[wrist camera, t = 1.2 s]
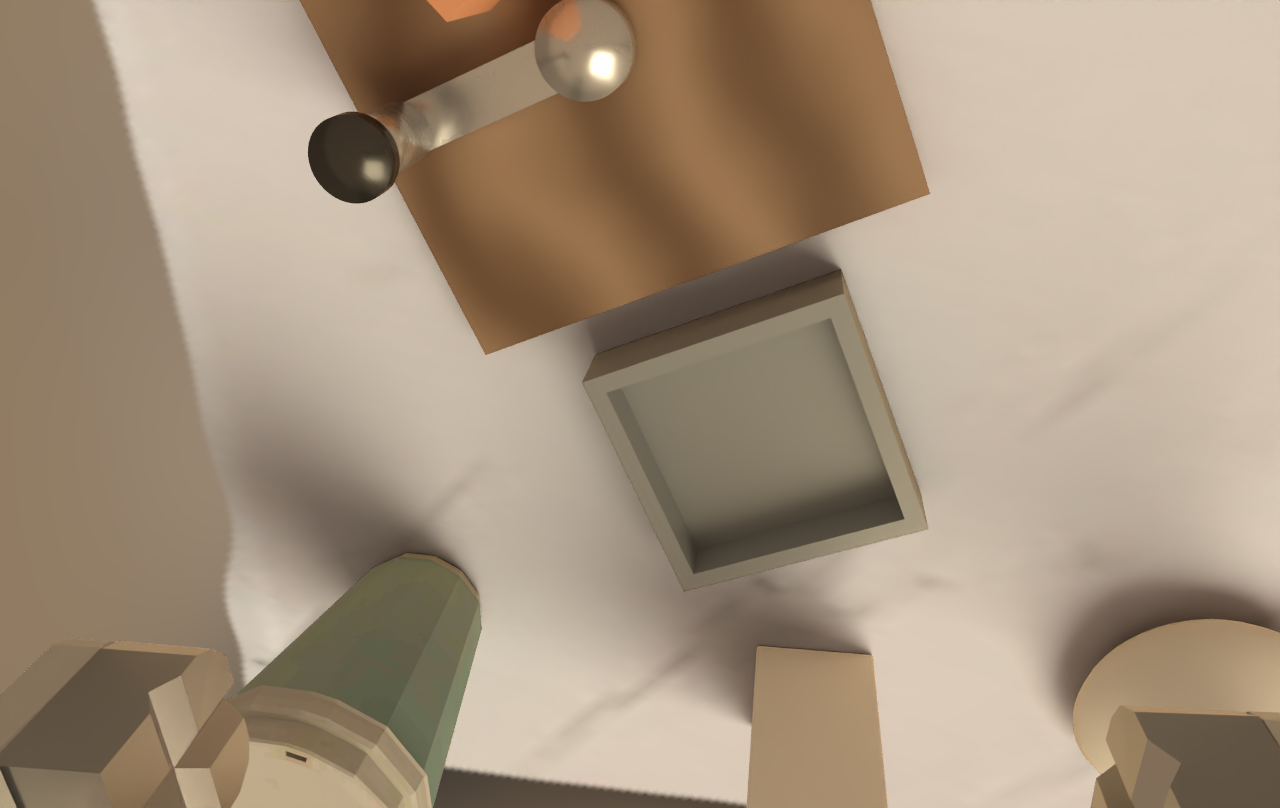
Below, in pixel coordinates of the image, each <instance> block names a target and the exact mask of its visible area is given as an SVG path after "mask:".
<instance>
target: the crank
mask: <svg viewBox="0 0 1280 808" xmlns="http://www.w3.org/2000/svg"><path fill="white" fill-rule="evenodd" d="M636 57H637V37H636V33H635V30H634V27H633V24H632V22H631V20H630V19H629V17H628V16H627V14H626V13H625V12H624V11H623V9H622V8H621V7H619V6H618V5H617V4H616V3H614V2H613V1H611V0H563V1H561V2H559V3H558V4H556V5H555V6H553V7H552V8H551V9H550V10H549V11H548V12H547V13H546V14H545V16H544V17H543V18H542V20H541V22H540V24H539V27H538V29H537V32H536V37H535V41H533V42H531V43H528V44H526V45H524V46H522V47H520V48H518V49H516V50H514V51H511V52H509V53H507V54H505V55H503V56H501V57H499V58H497V59H494V60H492V61H490V62H488V63H486V64H484V65H482V66H480V67H478V68H475V69H473V70H471V71H469V72H467V73H465V74H463V75H461V76H458V77H456V78H454V79H452V80H450V81H448V82H446V83H444V84H442V85H439V86H437V87H435V88H433V89H431V90H429V91H427V92H425V93H422V94H420V95H418V96H416V97H414V98H412V99H410V100H408V101H406V102H403V103H402V102H392V103H389V104H386V105H384V106H381V107H379V108H377V109H374V110H372V111H369V112H367V113H365V114H364V113H360V112H345V113H341V114H339V115H336V116H334V117H331V118H329V119H326V120H325V121H323V122H322V123H320V124H319V125H318V126H317V127H316V129H315V130H314V132H313V133H312V135H311V138H310V141H309V146H308V158H309V163H310V167H311V170H312V172H313V174H314V176H315V178H316V179H317V181H318V182H319V184H320V185H321V186H322V187H323V188H324V189H325V190H326V191H327V192H328V193H329V194H331V195H332V196H334V197H335V198H337V199H339V200H342V201H345V202H349V203H365V202H368V201H371V200H373V199H375V198H376V197H378V196H380V195H381V194H383V193H384V192H386V191H387V190H388V189H389V188H390V187H391V186H392V185H393V183H394V182H395V180H396V178H397V176H398V174H399V173H400V172H402V171H404V170H405V169H407V168H409V167H410V166H412V165H414V164H415V163H417V162H418V161H420V160H421V159H422V158H423V157H424V156H425V155H426V154H427V152H428V151H430V150H433V149H435V148H437V147H439V146H441V145H444V144H446V143H448V142H450V141H453V140H455V139H457V138H459V137H461V136H464V135H466V134H468V133H470V132H473V131H475V130H477V129H479V128H482V127H484V126H486V125H488V124H490V123H493V122H495V121H497V120H499V119H502V118H504V117H506V116H508V115H511V114H513V113H515V112H517V111H519V110H522V109H524V108H526V107H528V106H531V105H533V104H535V103H537V102H539V101H542V100H544V99H546V98H548V97H551V96H553V95H555V94H557V93H559V94H560V95H562V96H564V97H566V98H568V99H571V100H575V101H581V102H590V101H595V100H599V99H602V98H604V97H606V96H608V95H609V94H611V93H612V92H614V91H615V90H616V89H617V88H618V87H619V86H620V85H622V84H623V83H624V82H625V80H626V79H627V78H628V77H629V75H630V73H631V72H632V69H633V67H634V65H635V61H636Z"/></svg>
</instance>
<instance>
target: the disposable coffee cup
mask: <svg viewBox="0 0 1280 808" xmlns="http://www.w3.org/2000/svg"><path fill="white" fill-rule="evenodd" d="M481 629H482V626H481V615H480V605H479V596H478V592H477V591H476V590H475V588H474V587H473V586H472V584H471V583H470V582H469V580H468V579H467V578H466V576H465V575H464V574H463V572H462V571H461V570H459V569H458V568H456V567H454V566H452V565H450V564H449V563H447V562H445V561H443V560H442V559H440V558H438V557H436V556H433V555H422V554H412V553H405V554H403V555H400V556H398V557H396V558H393V559H391V560H389V561H387V562H384V563H382V564H380V565H378V566H375V567H373V568H372V569H371V570H370V571H369V572H368V573H366V574H365V575H364V576H363V577H362V578H361V579H360V580H359V581H358V582H357V583H356V584H355V585H354V586H353V587H351V588H350V589H349V590H348V591H347V592H346V593H345V594H344V595H343V596H342V597H341V598H340V599H339V600H337V601H336V602H335V603H334V604H333V605H332V606H331V607H330V608H329V609H328V610H327V611H326V612H325V613H324V614H322V615H321V616H320V617H319V618H318V619H317V620H316V621H315V622H314V623H313V624H312V625H311V626H310V627H308V628H307V629H306V630H305V631H304V632H303V633H302V634H301V635H300V636H299V637H298V638H297V639H296V640H295V641H293V642H292V643H291V644H290V645H289V646H288V647H287V648H286V649H285V650H284V651H283V652H282V653H281V654H279V655H278V656H277V657H276V658H275V659H274V660H273V661H272V662H271V663H270V664H269V665H268V666H267V667H266V668H264V669H263V670H262V671H261V672H260V673H259V674H258V675H257V676H256V677H255V678H254V679H253V680H252V681H250V682H249V683H248V684H247V685H246V686H245V687H244V688H243V689H242V690H241V691H240V692H239V693H238V694H237V695H235V696H234V697H231V698H229V699H226V701H227V702H228V703H229V704H230V705H231V706H232V707H233V708H235V709H236V710H237V711H238V712H239V713H240V714H241V715H242V716H243V717H244V720H245V723H246V727H247V731H248V735H249V763H248V767H247V770H246V774H245V777H244V781H243V784H242V787H241V791H240V793H239V795H238V797H237V798H236V800H235V802H234V803H233V805H232V807H231V808H433V804H434V801H435V798H436V794H437V790H438V787H439V783H440V779H441V776H442V772H443V768H444V765H445V761H446V757H447V754H448V750H449V747H450V743H451V739H452V736H453V732H454V728H455V725H456V721H457V717H458V714H459V710H460V706H461V703H462V699H463V695H464V692H465V688H466V684H467V681H468V677H469V673H470V670H471V666H472V662H473V659H474V655H475V651H476V648H477V644H478V640H479V637H480V633H481Z"/></svg>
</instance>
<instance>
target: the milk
mask: <svg viewBox="0 0 1280 808" xmlns="http://www.w3.org/2000/svg"><path fill="white" fill-rule="evenodd" d="M747 808H888V803H887V793H886V783H885V773H884V763H883V753H882V743H881V733H880V723H879V712H878V702H877V692H876V682H875V672H874V662H873V656H872V655H866V654H854V653H841V652H829V651H816V650H804V649H792V648H779V647H767V646H758V647H757V650H756V665H755V681H754V698H753V714H752V730H751V746H750V762H749V779H748V795H747Z"/></svg>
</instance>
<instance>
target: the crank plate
mask: <svg viewBox="0 0 1280 808" xmlns="http://www.w3.org/2000/svg"><path fill="white" fill-rule="evenodd" d="M561 1H563V0H500V1H499V2H498V3H497V4H496V5H495V6H494V7H493V8H492V10H491V11H488V12H484V13H480V14H476V15H472V16H468V17H465V18H461V19H457V20H453V21H449V22H446V21H445V19H444V18H443V17H442V16H441V15H440V14H439V13H438V12H437V11H436V10H435V9H434V8H433V6H432V5H431V4H430V3H429V2H428V1H427V0H300V2H301V4H302V6H303V8H304V10H305V11H306V13H307V15H308V17H309V19H310V21H311V23H312V25H313V27H314V29H315V30H316V32H317V34H318V36H319V38H320V40H321V42H322V44H323V46H324V48H325V50H326V51H327V53H328V55H329V57H330V59H331V61H332V63H333V65H334V67H335V69H336V71H337V72H338V74H339V76H340V78H341V80H342V82H343V84H344V86H345V88H346V90H347V91H348V93H349V95H350V97H351V99H352V101H353V103H354V105H355V107H356V109H357V111H358V112H360V113H364V114H365V113H367V112H369V111H372V110H374V109H377V108H379V107H381V106H384V105H386V104H389V103H392V102H402V103H403V102H406V101H408V100H410V99H412V98H414V97H416V96H418V95H420V94H422V93H425V92H427V91H429V90H431V89H433V88H435V87H437V86H439V85H442V84H444V83H446V82H448V81H450V80H452V79H454V78H456V77H458V76H461V75H463V74H465V73H467V72H469V71H471V70H473V69H475V68H478V67H480V66H482V65H484V64H486V63H488V62H490V61H492V60H494V59H497V58H499V57H501V56H503V55H505V54H507V53H509V52H511V51H514V50H516V49H518V48H520V47H522V46H524V45H526V44H528V43H531V42H533V41H535V37H536V32H537V29H538V27H539V24H540V22H541V20H542V18H543V17H544V16H545V14H546V13H547V12H548V11H549V10H550V9H551V8H552V7H553V6H555V5H556V4H558V3H559V2H561ZM611 1H613V2H614V3H616V4H617V5H618V6H619V7H621V8H622V9H623V11H624V12H625V13H626V14H627V16H628V17H629V19H630V20H631V22H632V24H633V27H634V30H635V33H636V37H637V57H636V61H635V65H634V67H633V69H632V72H631V73H630V75H629V77H628V78H627V79H626V80H625V82H624V83H623V84H622V85H620V86H619V87H618V88H617V89H616V90H615V91H614V92H612V93H611V94H609V95H608V96H606V97H604V98H602V99H599V100H595V101H590V102H581V101H575V100H571V99H568V98H566V97H564V96H562V95H560V94H559V93H557V94H555V95H553V96H551V97H548V98H546V99H544V100H542V101H539V102H537V103H535V104H533V105H531V106H528V107H526V108H524V109H522V110H519V111H517V112H515V113H513V114H511V115H508V116H506V117H504V118H502V119H499V120H497V121H495V122H493V123H490V124H488V125H486V126H484V127H482V128H479V129H477V130H475V131H473V132H470V133H468V134H466V135H464V136H461V137H459V138H457V139H455V140H453V141H450V142H448V143H446V144H444V145H441V146H439V147H437V148H435V149H433V150H430V151H428V152H427V154H426V155H425V156H424V157H423V158H422V159H421V160H420V161H418V162H417V163H415V164H414V165H412V166H410V167H409V168H407V169H405V170H404V171H402V172H400V173H399V174H398V176H397V178H396V180H395V183H396V185H397V187H398V189H399V191H400V193H401V194H402V196H403V198H404V200H405V202H406V204H407V206H408V208H409V210H410V212H411V214H412V215H413V217H414V219H415V221H416V223H417V225H418V227H419V229H420V231H421V233H422V234H423V236H424V238H425V240H426V242H427V244H428V246H429V248H430V250H431V252H432V254H433V255H434V257H435V259H436V261H437V263H438V265H439V267H440V269H441V271H442V273H443V275H444V276H445V278H446V280H447V282H448V284H449V286H450V288H451V290H452V292H453V294H454V295H455V297H456V299H457V301H458V303H459V305H460V307H461V309H462V311H463V313H464V315H465V316H466V318H467V320H468V322H469V324H470V326H471V328H472V330H473V332H474V334H475V336H476V337H477V339H478V341H479V343H480V345H481V347H482V349H483V351H484V353H485V355H487V354H490V353H493V352H495V351H498V350H501V349H504V348H506V347H509V346H512V345H515V344H517V343H520V342H523V341H526V340H528V339H531V338H534V337H537V336H539V335H542V334H545V333H548V332H550V331H553V330H556V329H559V328H561V327H564V326H567V325H570V324H572V323H575V322H578V321H581V320H583V319H586V318H589V317H592V316H594V315H597V314H600V313H603V312H605V311H608V310H611V309H614V308H616V307H619V306H622V305H625V304H627V303H630V302H633V301H636V300H639V299H641V298H644V297H647V296H650V295H652V294H655V293H658V292H661V291H663V290H666V289H669V288H672V287H674V286H677V285H680V284H683V283H685V282H688V281H691V280H694V279H696V278H699V277H702V276H705V275H707V274H710V273H713V272H716V271H718V270H721V269H724V268H727V267H729V266H732V265H735V264H738V263H740V262H743V261H746V260H749V259H751V258H754V257H757V256H760V255H762V254H765V253H768V252H771V251H773V250H776V249H779V248H782V247H785V246H787V245H790V244H793V243H796V242H798V241H801V240H804V239H807V238H809V237H812V236H815V235H818V234H820V233H823V232H826V231H829V230H831V229H834V228H837V227H840V226H842V225H845V224H848V223H851V222H853V221H856V220H859V219H862V218H864V217H867V216H870V215H873V214H875V213H878V212H881V211H884V210H886V209H889V208H892V207H895V206H897V205H900V204H903V203H906V202H908V201H911V200H914V199H917V198H919V197H922V196H925V195H928V194H930V192H929V189H928V186H927V182H926V179H925V176H924V173H923V169H922V166H921V163H920V160H919V156H918V153H917V150H916V147H915V143H914V140H913V137H912V134H911V130H910V127H909V124H908V121H907V117H906V114H905V111H904V108H903V104H902V101H901V98H900V95H899V91H898V88H897V85H896V82H895V78H894V75H893V72H892V69H891V66H890V62H889V59H888V56H887V53H886V49H885V46H884V43H883V40H882V36H881V33H880V30H879V27H878V23H877V20H876V17H875V14H874V10H873V7H872V4H871V1H870V0H611Z"/></svg>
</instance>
